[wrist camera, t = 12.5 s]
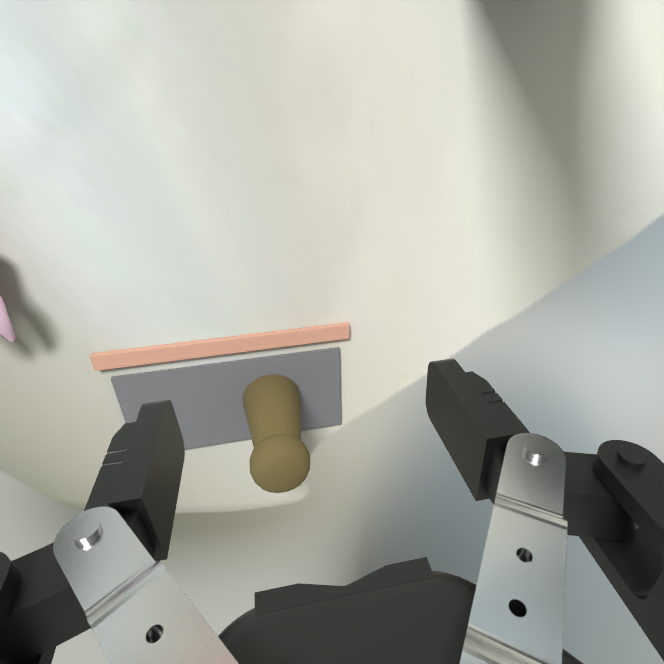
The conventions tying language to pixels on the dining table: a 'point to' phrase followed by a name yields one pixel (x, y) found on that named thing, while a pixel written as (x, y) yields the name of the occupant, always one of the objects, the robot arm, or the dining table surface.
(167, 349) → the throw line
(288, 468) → the cork
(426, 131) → the dining table surface
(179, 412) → the mat
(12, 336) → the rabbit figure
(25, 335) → the dining table surface
